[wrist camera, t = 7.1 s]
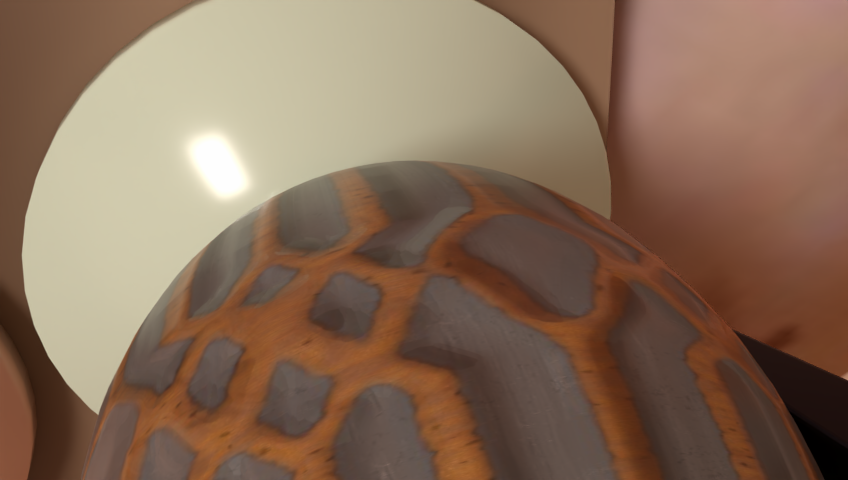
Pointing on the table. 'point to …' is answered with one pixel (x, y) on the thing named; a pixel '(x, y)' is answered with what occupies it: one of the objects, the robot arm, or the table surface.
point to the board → (63, 82)
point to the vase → (437, 348)
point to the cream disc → (273, 142)
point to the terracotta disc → (15, 413)
